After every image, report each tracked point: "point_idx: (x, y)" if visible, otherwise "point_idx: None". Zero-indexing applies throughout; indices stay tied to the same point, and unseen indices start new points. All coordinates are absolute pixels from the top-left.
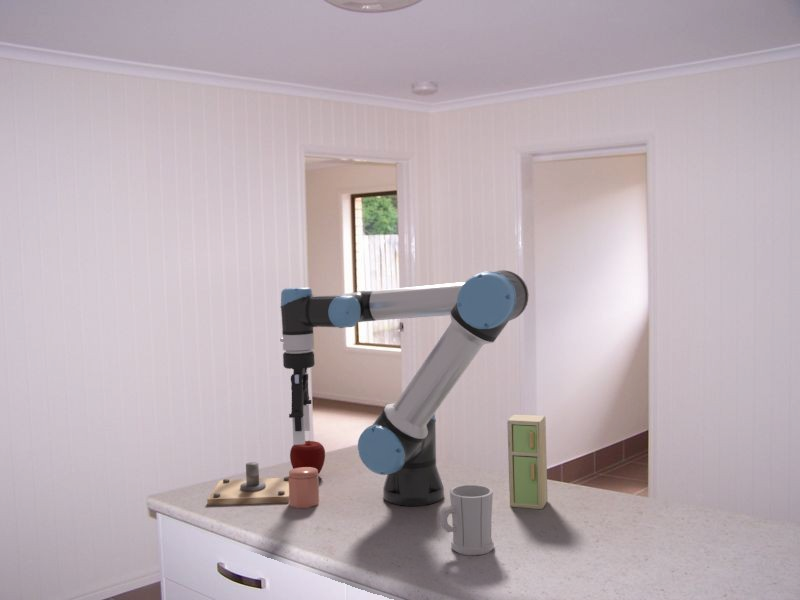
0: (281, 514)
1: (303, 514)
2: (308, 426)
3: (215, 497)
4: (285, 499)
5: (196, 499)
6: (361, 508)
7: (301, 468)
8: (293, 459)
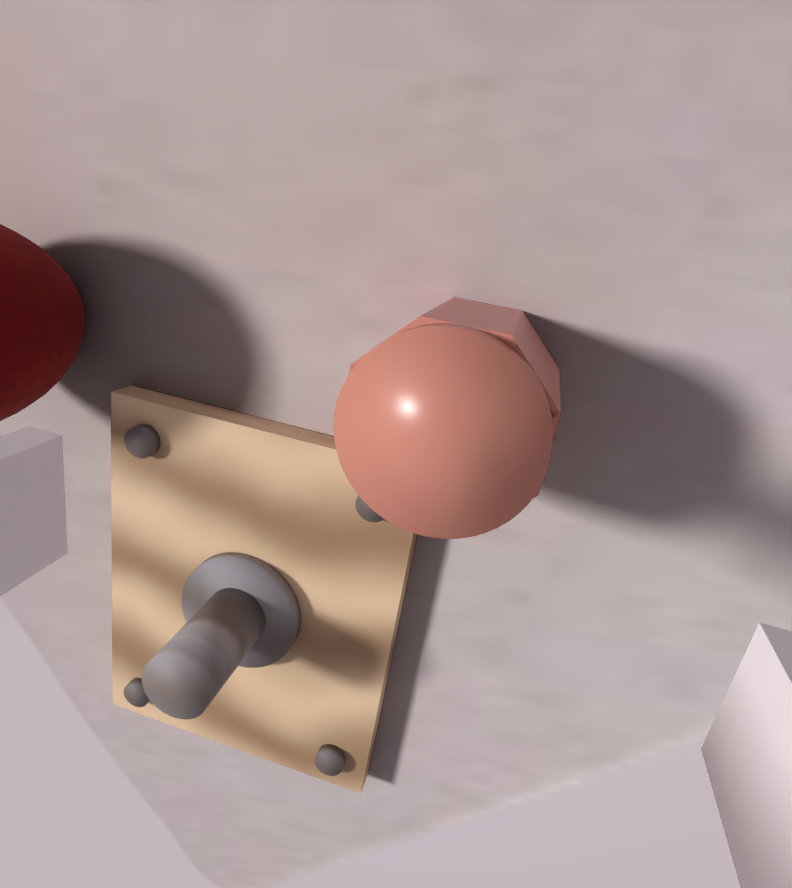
0: (615, 522)
1: (666, 415)
2: (16, 466)
3: (345, 763)
4: None
5: (283, 788)
6: (713, 22)
7: (364, 441)
8: (2, 417)
